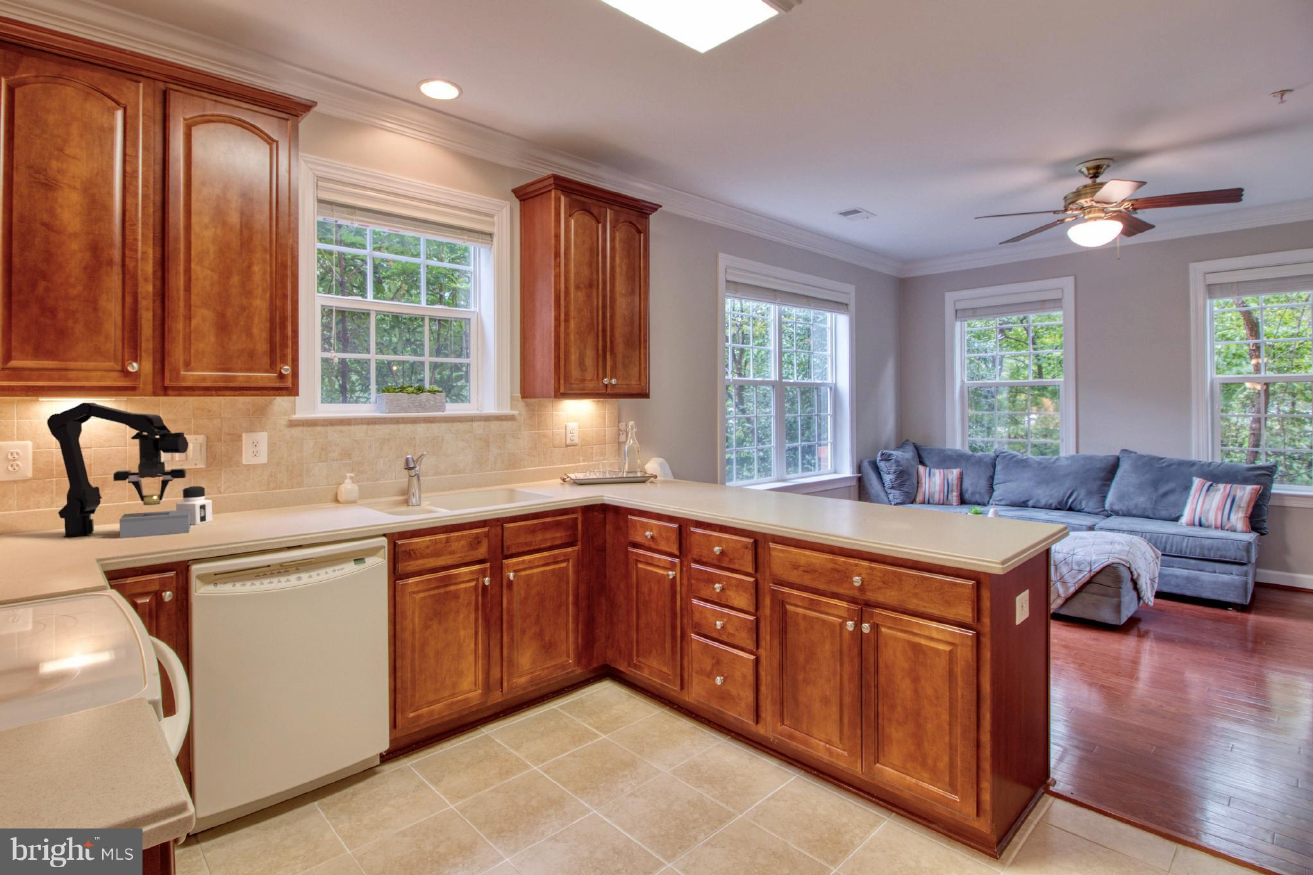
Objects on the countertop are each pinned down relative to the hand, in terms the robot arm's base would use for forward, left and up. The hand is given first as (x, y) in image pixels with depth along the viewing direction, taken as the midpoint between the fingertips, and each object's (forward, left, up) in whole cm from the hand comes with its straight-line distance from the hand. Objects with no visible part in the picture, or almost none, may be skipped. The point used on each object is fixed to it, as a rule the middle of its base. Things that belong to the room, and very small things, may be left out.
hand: (151, 500), depth 225 cm
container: (+11, +17, -11) cm, 23 cm away
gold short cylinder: (0, 0, -1) cm, 1 cm away
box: (+1, +3, -11) cm, 11 cm away
